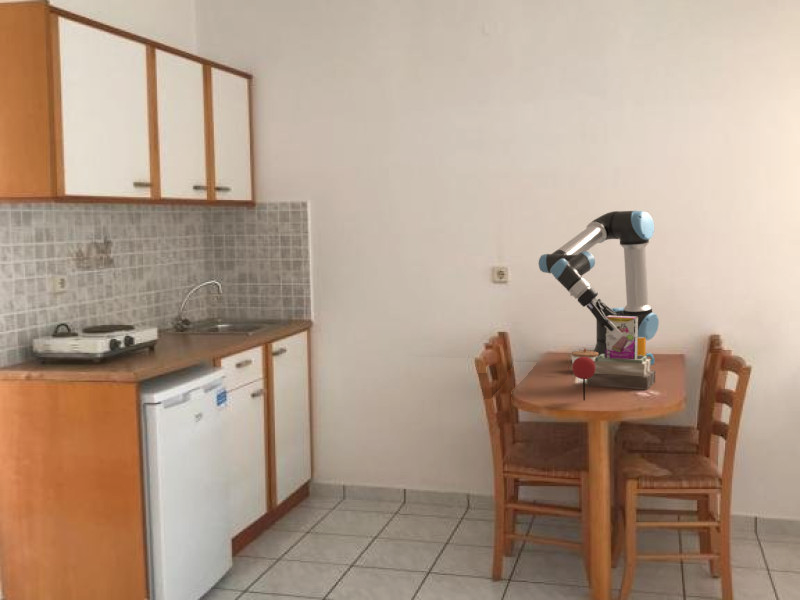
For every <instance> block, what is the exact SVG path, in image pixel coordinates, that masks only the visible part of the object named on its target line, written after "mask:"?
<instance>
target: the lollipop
mask: <svg viewBox="0 0 800 600" xmlns="http://www.w3.org/2000/svg"><path fill="white" fill-rule="evenodd" d="M572 373H573V375H574V376H575V377H577V378H578V379H580V380H583V381H582V383H583V384H582V386H583V388H582V390H583V391H582V393H583V401H586V382H585V381H586V380H587V379H588V378H591V377H592V376H593V375H594V373H595V363H594V361H593V360H592V359H591V358H588V357H579V358H577V359H576V360H575V361H574V363H572Z"/></svg>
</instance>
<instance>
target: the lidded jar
mask: <svg viewBox="0 0 800 600" xmlns="http://www.w3.org/2000/svg"><path fill="white" fill-rule="evenodd" d="M598 355H599V353H598V352H594V350H587V348H583V350H578V351H577V350H575V351H572V352H571V362H572V364H573V363H574V361H575V360H576V359H577V358H579V357H588V358H591V359H592V360H595V358H596V357H598Z"/></svg>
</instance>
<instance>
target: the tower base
mask: <svg viewBox="0 0 800 600" xmlns="http://www.w3.org/2000/svg"><path fill="white" fill-rule="evenodd" d="M651 359H652V358H648V357H647V356H638V355H637V360H635V359H616V358H605V354H601V355H599V356H598V357H596V358H595V360H593V361H594V363H595V373H594V375H593V376H592V377H591V378H588V379H586V386H587V387H589V386H590V387H603V388H618V389H620V388H621V389H632V390H633V389H634V390H646V391H647V390H648V389H649V388H650V387H652V386H653V385H654V384H655V383H656V370H655V369H652V368H651V367H652V365H651Z"/></svg>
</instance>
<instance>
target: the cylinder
mask: <svg viewBox="0 0 800 600" xmlns="http://www.w3.org/2000/svg"><path fill="white" fill-rule="evenodd" d="M646 341H647V340H646V338H645V337H638V342H637V355H638V356H647V358H649V357H650V359H651V366H653V365H654V364H655V358H654V355H653V353H651V352H648V353H646V349H647V347H646V346H647V344H646V343H647V342H646Z"/></svg>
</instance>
